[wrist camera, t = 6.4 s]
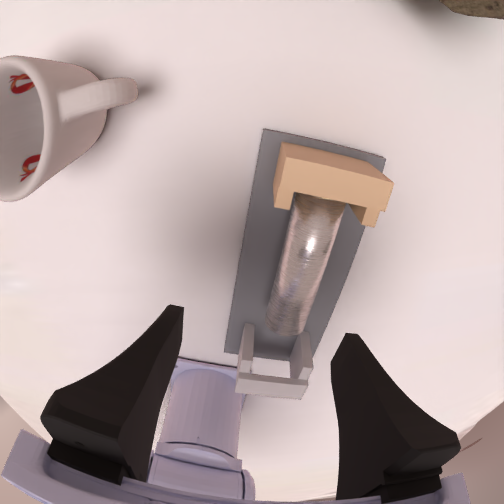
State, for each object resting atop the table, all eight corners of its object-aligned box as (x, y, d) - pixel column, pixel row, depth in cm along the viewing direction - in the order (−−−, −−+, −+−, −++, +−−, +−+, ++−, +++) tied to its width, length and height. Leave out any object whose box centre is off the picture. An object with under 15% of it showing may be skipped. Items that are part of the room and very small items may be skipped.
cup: (156, 31, 15) (93, 6, 8) (169, 146, 19) (115, 182, 12) (30, 77, 16) (-47, 90, 9) (46, 171, 20) (-23, 212, 13)
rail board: (309, 358, 28) (314, 403, 23) (224, 347, 27) (217, 393, 23) (383, 157, 18) (416, 180, 14) (263, 128, 18) (262, 141, 14)
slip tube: (303, 311, 24) (307, 340, 21) (263, 305, 24) (262, 334, 21) (345, 176, 19) (359, 192, 16) (296, 165, 18) (302, 179, 16)
